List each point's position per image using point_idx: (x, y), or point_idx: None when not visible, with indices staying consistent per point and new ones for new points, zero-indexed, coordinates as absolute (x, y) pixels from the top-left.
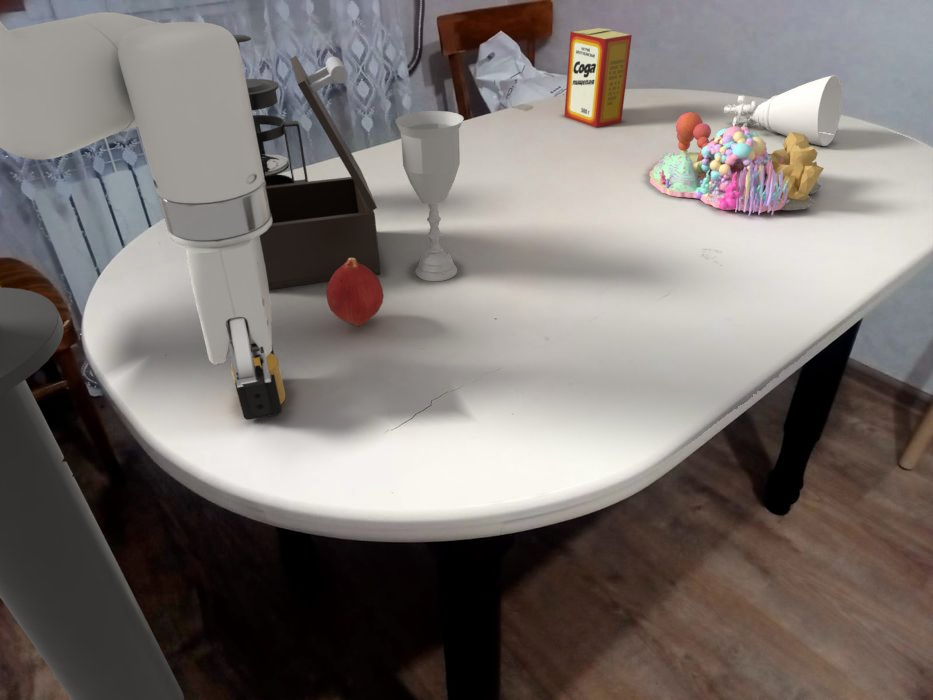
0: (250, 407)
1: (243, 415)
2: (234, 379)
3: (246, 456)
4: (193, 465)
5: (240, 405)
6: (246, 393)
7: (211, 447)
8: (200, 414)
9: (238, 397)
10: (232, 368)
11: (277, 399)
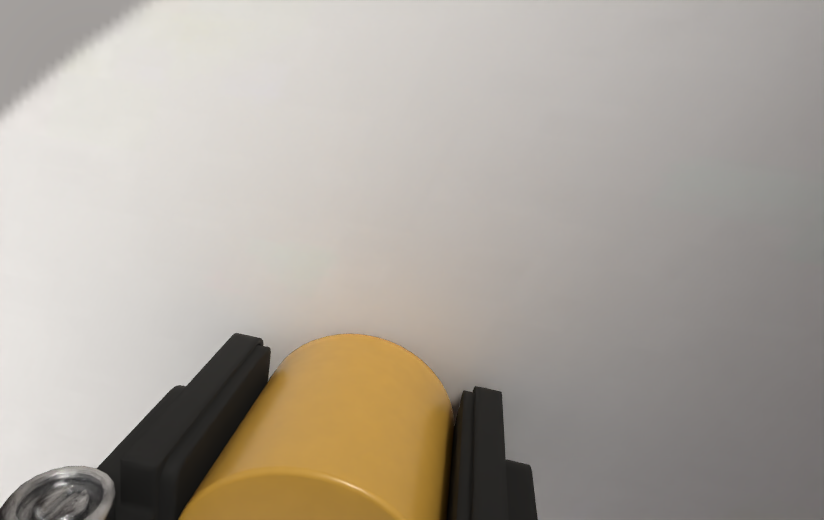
0: (158, 405)
1: (230, 339)
2: (277, 437)
3: (51, 278)
4: (49, 75)
5: (352, 334)
6: (103, 463)
7: (141, 165)
8: (392, 157)
9: (331, 360)
10: (307, 481)
11: None
